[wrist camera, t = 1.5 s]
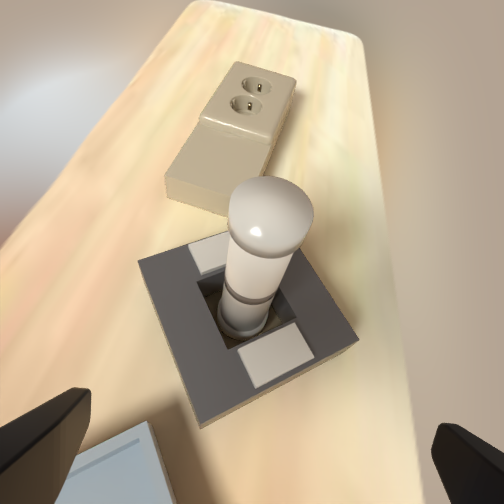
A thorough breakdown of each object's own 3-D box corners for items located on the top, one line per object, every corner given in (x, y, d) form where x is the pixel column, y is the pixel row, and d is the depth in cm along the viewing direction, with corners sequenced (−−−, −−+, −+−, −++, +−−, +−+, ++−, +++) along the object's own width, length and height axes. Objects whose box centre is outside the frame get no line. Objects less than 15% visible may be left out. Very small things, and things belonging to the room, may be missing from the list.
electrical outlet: (163, 166, 27) (234, 58, 36) (167, 200, 30) (231, 93, 40) (249, 194, 26) (298, 77, 36) (243, 225, 30) (289, 111, 39)
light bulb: (274, 327, 24) (329, 226, 14) (229, 348, 23) (253, 254, 13) (252, 287, 26) (286, 167, 16) (209, 304, 25) (215, 188, 14)
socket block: (342, 352, 24) (361, 337, 21) (200, 429, 20) (200, 423, 18) (270, 236, 29) (278, 211, 26) (143, 280, 25) (136, 257, 22)
